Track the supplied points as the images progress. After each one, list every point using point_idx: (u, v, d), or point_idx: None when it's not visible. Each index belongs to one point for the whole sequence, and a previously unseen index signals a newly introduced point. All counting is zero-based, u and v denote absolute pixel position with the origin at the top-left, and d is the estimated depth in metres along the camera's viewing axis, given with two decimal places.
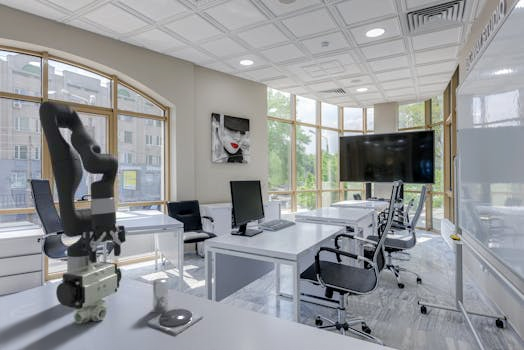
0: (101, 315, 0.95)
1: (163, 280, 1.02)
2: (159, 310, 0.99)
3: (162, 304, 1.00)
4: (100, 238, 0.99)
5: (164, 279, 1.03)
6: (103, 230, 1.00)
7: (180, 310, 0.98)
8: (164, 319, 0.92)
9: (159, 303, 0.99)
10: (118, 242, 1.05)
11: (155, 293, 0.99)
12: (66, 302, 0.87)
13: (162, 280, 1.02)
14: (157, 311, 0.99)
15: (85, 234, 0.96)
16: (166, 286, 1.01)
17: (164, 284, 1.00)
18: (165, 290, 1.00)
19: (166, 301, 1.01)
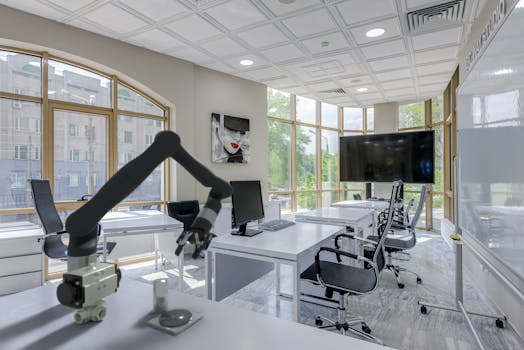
0: (101, 315, 0.95)
1: (163, 280, 1.02)
2: (159, 310, 0.99)
3: (162, 304, 1.00)
4: None
5: (164, 279, 1.03)
6: None
7: (180, 310, 0.98)
8: (164, 319, 0.92)
9: (159, 303, 0.99)
10: None
11: (155, 293, 0.99)
12: (66, 302, 0.87)
13: (162, 280, 1.02)
14: (157, 311, 0.99)
15: (211, 238, 1.15)
16: (166, 286, 1.01)
17: (164, 284, 1.00)
18: (165, 290, 1.00)
19: (166, 301, 1.01)
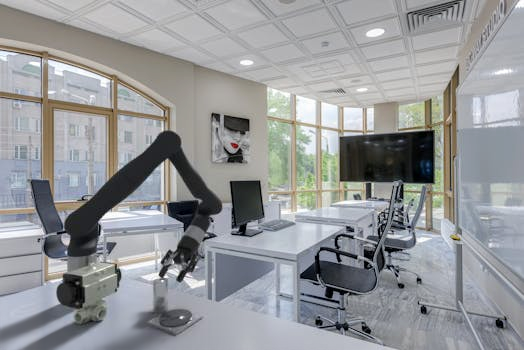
0: (101, 315, 0.95)
1: (163, 280, 1.02)
2: (159, 310, 0.99)
3: (162, 304, 1.00)
4: None
5: (164, 279, 1.03)
6: None
7: (180, 310, 0.98)
8: (164, 319, 0.92)
9: (159, 303, 0.99)
10: None
11: (155, 293, 0.99)
12: (66, 302, 0.87)
13: (162, 280, 1.02)
14: (157, 311, 0.99)
15: (197, 258, 1.08)
16: (166, 286, 1.01)
17: (164, 284, 1.00)
18: (165, 290, 1.00)
19: (166, 301, 1.01)
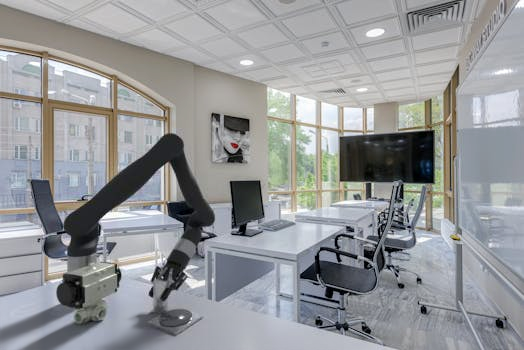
0: (101, 315, 0.95)
1: (163, 280, 1.02)
2: (159, 310, 0.99)
3: (162, 304, 1.00)
4: None
5: (164, 279, 1.03)
6: None
7: (180, 310, 0.98)
8: (164, 319, 0.92)
9: (159, 303, 0.99)
10: None
11: (155, 293, 0.99)
12: (66, 302, 0.87)
13: (162, 280, 1.02)
14: (157, 311, 0.99)
15: (186, 277, 1.03)
16: (166, 286, 1.01)
17: (164, 284, 1.00)
18: None
19: (166, 301, 1.01)
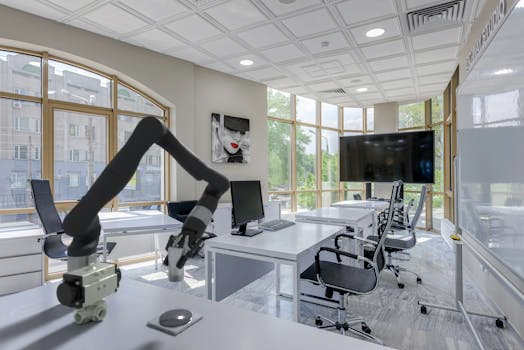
0: (101, 315, 0.95)
1: (178, 247, 0.94)
2: (175, 279, 0.92)
3: (178, 272, 0.92)
4: None
5: (180, 247, 0.95)
6: None
7: (180, 310, 0.98)
8: (164, 319, 0.92)
9: (174, 271, 0.92)
10: None
11: (170, 261, 0.92)
12: (66, 302, 0.87)
13: (177, 247, 0.94)
14: (173, 280, 0.92)
15: (203, 244, 0.95)
16: (182, 253, 0.93)
17: (180, 251, 0.92)
18: None
19: (182, 270, 0.93)
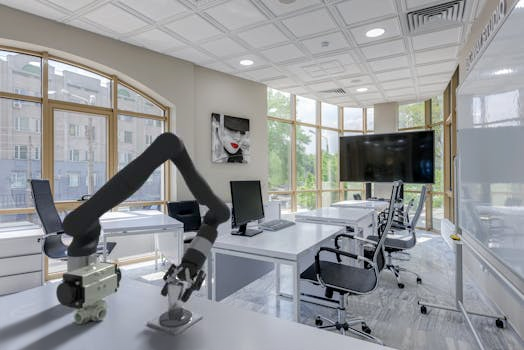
0: (101, 315, 0.95)
1: (178, 284, 0.95)
2: (175, 317, 0.92)
3: (178, 310, 0.92)
4: None
5: (179, 283, 0.95)
6: None
7: None
8: (164, 319, 0.92)
9: (174, 309, 0.92)
10: None
11: (170, 298, 0.92)
12: (66, 302, 0.87)
13: (177, 284, 0.94)
14: (172, 318, 0.92)
15: (205, 274, 0.96)
16: (182, 291, 0.94)
17: (180, 289, 0.93)
18: (181, 295, 0.93)
19: (182, 307, 0.94)
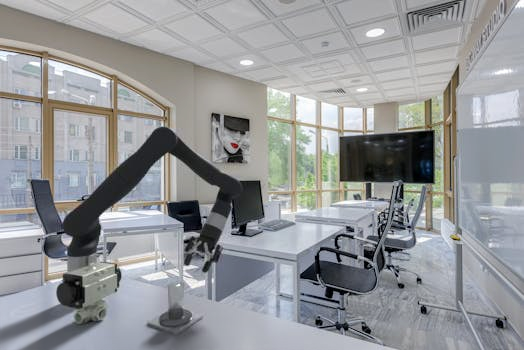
0: (101, 315, 0.95)
1: (178, 284, 0.95)
2: (175, 317, 0.92)
3: (178, 310, 0.92)
4: None
5: (179, 283, 0.95)
6: None
7: None
8: (164, 319, 0.92)
9: (174, 309, 0.92)
10: None
11: (170, 298, 0.92)
12: (66, 302, 0.87)
13: (177, 284, 0.94)
14: (172, 318, 0.92)
15: (221, 248, 1.07)
16: (182, 291, 0.94)
17: (180, 289, 0.93)
18: (181, 295, 0.93)
19: (182, 307, 0.94)
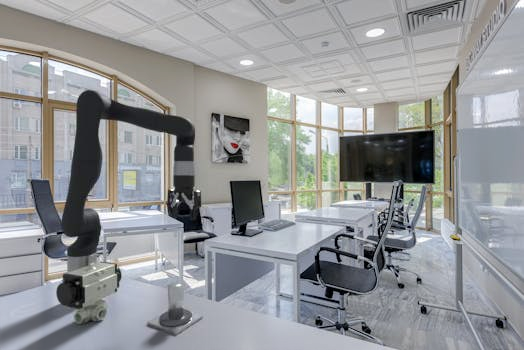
0: (101, 315, 0.95)
1: (178, 284, 0.95)
2: (175, 317, 0.92)
3: (178, 310, 0.92)
4: None
5: (179, 283, 0.95)
6: None
7: None
8: (164, 319, 0.92)
9: (174, 309, 0.92)
10: None
11: (170, 298, 0.92)
12: (66, 302, 0.87)
13: (177, 284, 0.94)
14: (172, 318, 0.92)
15: (199, 192, 1.05)
16: (182, 291, 0.94)
17: (180, 289, 0.93)
18: (181, 295, 0.93)
19: (182, 307, 0.94)
